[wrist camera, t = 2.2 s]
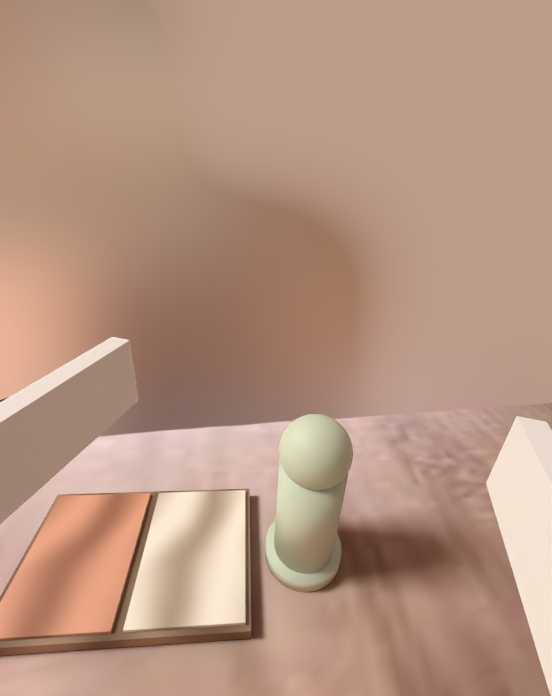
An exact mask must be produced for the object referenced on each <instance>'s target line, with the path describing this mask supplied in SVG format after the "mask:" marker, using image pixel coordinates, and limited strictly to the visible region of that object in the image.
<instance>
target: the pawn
mask: <svg viewBox="0 0 552 696" xmlns="http://www.w3.org/2000/svg"><path fill="white" fill-rule="evenodd" d="M279 457H280V462H279V476H278V491H277V505H276V520H275V521H274V522H273V523H272V525H271V526H270V528H269V530H268V533H267V536H266V547H265V556H266V561H267V565H268V567H269V569H270V571H271V573H272V574H273V576H274V577H275V578H276V579H277V580H278V581H279V582H280V583H281V584H283V585H284V586H286V587H287V588H290V589H292V590H295V591H299V592H313V591H317V590H320V589H322V588H324V587H325V586H327V585H328V584H329V583H330V582H331V581H332V580H333V579H334V577H335V575H336V574H337V571H338V568H339V564H340V559H341V552H342V549H341V542H340V539H339V536H338V534H337V529H338V524H339V518H340V513H341V508H342V503H343V498H344V493H345V487H346V482H347V477H348V471H349V469H350V467H351V463H352V458H353V449H352V444H351V440H350V438H349V436H348V434H347V432H346V431H345V429H344V428H343V427H342V426H341V425H340V424H339V423H338V422H337V421H335V420H334V419H332V418H330V417H328V416H325V415H320V414H309V415H305V416H302V417H300V418H298V419H296V420H294V421H293V422H292V423H291V424H290V425H289V426H288V427H287V428H286V430H285V431H284V433H283V435H282V437H281V440H280V445H279Z"/></svg>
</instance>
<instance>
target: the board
mask: <svg viewBox="0 0 552 696" xmlns="http://www.w3.org/2000/svg"><path fill="white" fill-rule="evenodd" d="M237 639H251V575H250V497H249V489H228V490H195V491H163V492H131V493H98V494H66V495H57V497H56V499H55V501H54V503H53V504H52V506H51V508H50V510H49V511H48V513H47V515H46V517H45V518H44V520H43V522H42V524H41V526H40V527H39V529H38V531H37V533H36V534H35V536H34V538H33V540H32V541H31V543H30V545H29V547H28V549H27V550H26V552H25V554H24V556H23V557H22V559H21V561H20V563H19V564H18V566H17V568H16V570H15V572H14V573H13V575H12V577H11V579H10V580H9V582H8V584H7V586H6V587H5V589H4V591H3V593H2V595H1V596H0V656H4V655H19V654H33V653H48V652H62V651H77V650H91V649H106V648H121V647H135V646H150V645H164V644H179V643H193V642H208V641H222V640H237Z"/></svg>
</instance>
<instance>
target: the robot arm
mask: <svg viewBox="0 0 552 696" xmlns="http://www.w3.org/2000/svg"><path fill="white" fill-rule="evenodd" d="M138 400H139V398H138V391H137V385H136V378H135V372H134V366H133V359H132V352H131V346H130V340H126V339H121V338H116V337H111V338H109V339H108V340H106V341H104V342H103V343H101V344H99V345H98V346H96V347H94V348H92V349H91V350H89V351H87V352H86V353H84V354H82V355H80V356H79V357H77V358H75V359H74V360H72V361H70V362H68V363H67V364H65V365H63V366H62V367H60V368H58V369H56V370H55V371H53V372H51V373H50V374H48V375H46V376H45V377H43V378H41V379H40V380H38V381H36V382H34V383H33V384H31V385H29V386H28V387H26V388H24V389H22V390H21V391H19V392H17V393H15V394H14V395H12V396H10V397H8V398H5V399H2V400H0V524H1V523H2V522H3V521H4V520H5V519H7V518H8V517H9V516H10V515H11V514H12V513H13V512H14V511H16V510H17V509H18V508H19V507H20V506H21V505H22V504H23V503H24V502H26V501H27V500H28V499H29V498H30V497H31V496H32V495H33V494H34V493H36V492H37V491H38V490H39V489H40V488H41V487H42V486H43V485H45V484H46V483H47V482H48V481H49V480H50V479H51V478H52V477H53V476H55V475H56V474H57V473H58V472H59V471H60V470H61V469H62V468H64V467H65V466H66V465H67V464H68V463H69V462H70V461H71V460H72V459H74V458H75V457H76V456H77V455H78V454H79V453H80V452H81V451H82V450H84V449H85V448H86V447H87V446H88V445H89V444H90V443H91V442H93V441H94V440H95V439H96V438H97V437H98V436H99V435H100V434H101V433H103V432H104V431H105V430H106V429H107V428H108V427H109V426H110V425H111V424H113V423H114V422H115V421H116V420H117V419H118V418H119V417H120V416H121V415H123V414H124V413H125V412H126V411H127V410H128V409H129V408H130V407H132V406H133V405H134V404H135V403H136V402H137V401H138ZM486 485H487V488H488V491H489V494H490V498H491V501H492V504H493V508H494V511H495V514H496V518H497V521H498V524H499V527H500V531H501V534H502V537H503V541H504V544H505V547H506V550H507V554H508V557H509V560H510V564H511V567H512V570H513V574H514V577H515V580H516V583H517V587H518V590H519V593H520V597H521V600H522V603H523V606H524V610H525V613H526V616H527V620H528V623H529V626H530V630H531V633H532V636H533V639H534V643H535V646H536V649H537V653H538V656H539V659H540V662H541V666H542V669H543V672H544V676H545V679H546V682H547V686H548V689H549V692H550V695H551V696H552V430H551V429H550V427H549V425H548V424H547V422H544V421H539V420H534V419H529V418H524V417H519V416H517V417H516V419H515V421H514V423H513V425H512V428H511V430H510V432H509V434H508V436H507V439H506V441H505V443H504V445H503V447H502V449H501V452H500V454H499V456H498V458H497V460H496V463H495V465H494V467H493V469H492V471H491V474H490V476H489V478H488V480H487V482H486Z"/></svg>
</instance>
